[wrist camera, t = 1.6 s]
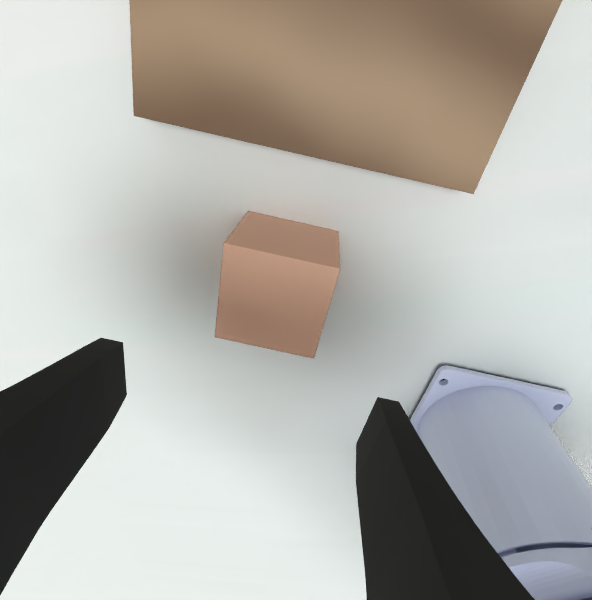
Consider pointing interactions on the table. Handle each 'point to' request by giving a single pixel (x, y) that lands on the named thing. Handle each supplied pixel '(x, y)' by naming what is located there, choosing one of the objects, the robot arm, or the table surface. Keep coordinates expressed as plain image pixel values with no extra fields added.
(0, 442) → the robot arm
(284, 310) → the terracotta cube
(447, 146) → the base board
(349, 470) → the table surface
